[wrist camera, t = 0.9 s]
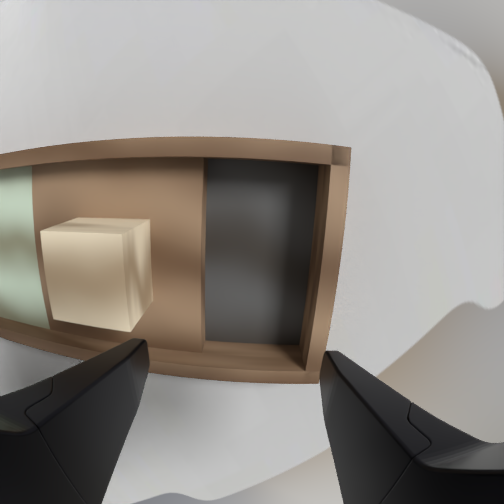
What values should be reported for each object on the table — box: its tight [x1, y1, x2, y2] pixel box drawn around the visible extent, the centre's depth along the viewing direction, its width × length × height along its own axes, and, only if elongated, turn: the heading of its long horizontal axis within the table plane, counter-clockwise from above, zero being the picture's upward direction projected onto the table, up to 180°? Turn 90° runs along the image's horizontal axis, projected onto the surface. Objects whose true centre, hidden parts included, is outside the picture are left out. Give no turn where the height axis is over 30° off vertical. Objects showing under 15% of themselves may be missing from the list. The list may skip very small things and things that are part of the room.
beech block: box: [40, 218, 153, 332], centre depth 16 cm, size 5×5×4 cm
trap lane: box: [0, 137, 351, 384], centre depth 18 cm, size 14×35×4 cm, turn 87°
